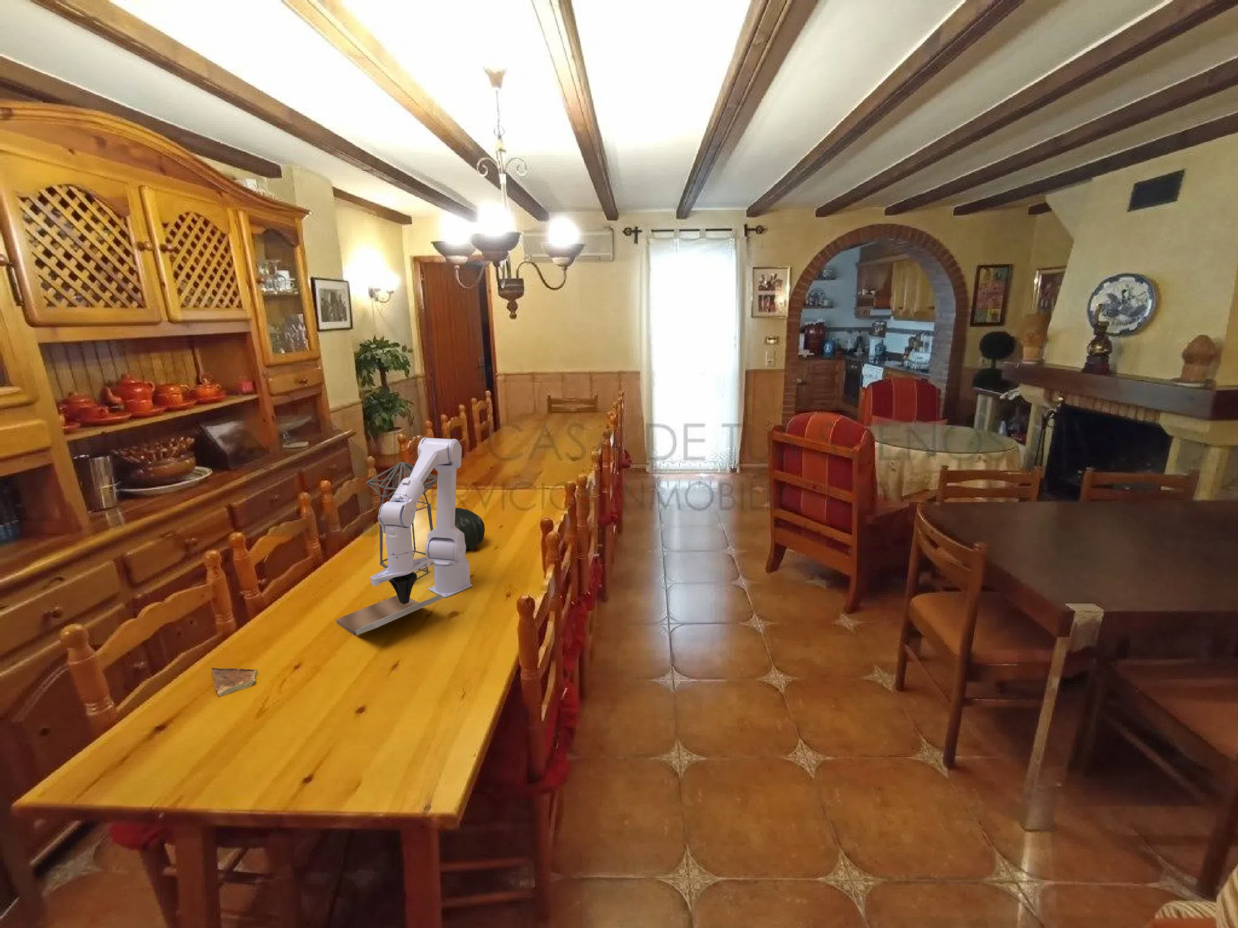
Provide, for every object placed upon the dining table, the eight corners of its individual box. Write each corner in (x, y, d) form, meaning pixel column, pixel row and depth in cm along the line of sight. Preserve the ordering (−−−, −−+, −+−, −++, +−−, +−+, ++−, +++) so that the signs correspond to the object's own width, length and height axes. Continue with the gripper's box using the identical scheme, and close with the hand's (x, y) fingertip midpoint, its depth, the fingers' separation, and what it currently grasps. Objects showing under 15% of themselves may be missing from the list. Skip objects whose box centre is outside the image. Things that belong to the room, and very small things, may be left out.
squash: (498, 525, 194) (468, 493, 191) (484, 543, 179) (451, 509, 177) (470, 548, 197) (441, 517, 195) (454, 567, 183) (422, 534, 181)
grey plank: (422, 606, 148) (420, 602, 148) (442, 598, 141) (440, 594, 141) (356, 634, 134) (354, 630, 134) (375, 628, 127) (373, 623, 127)
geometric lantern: (370, 579, 164) (360, 464, 156) (412, 561, 178) (404, 454, 170) (408, 591, 157) (399, 471, 149) (449, 571, 170) (442, 460, 163)
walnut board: (401, 596, 154) (401, 593, 154) (420, 607, 149) (420, 603, 148) (336, 623, 140) (336, 619, 140) (354, 635, 135) (354, 631, 134)
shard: (212, 673, 120) (210, 666, 120) (253, 660, 125) (252, 653, 125) (217, 699, 112) (215, 692, 112) (261, 684, 117) (260, 677, 117)
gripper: (417, 537, 139) (421, 586, 143) (361, 555, 128) (367, 608, 132) (434, 544, 135) (437, 594, 139) (377, 563, 124) (383, 618, 127)
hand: (404, 602), depth 135 cm, fingers closed
